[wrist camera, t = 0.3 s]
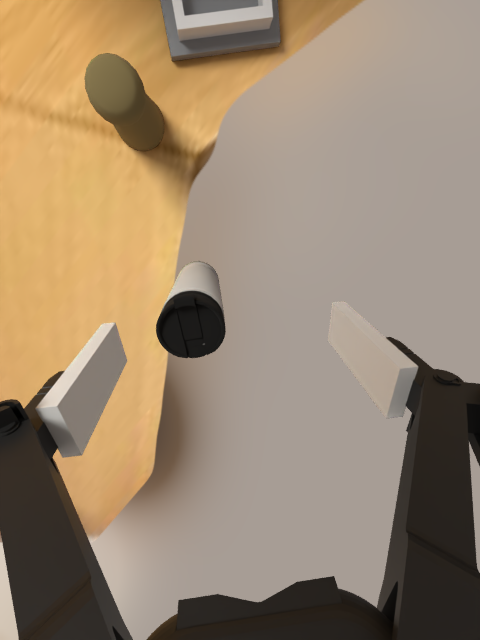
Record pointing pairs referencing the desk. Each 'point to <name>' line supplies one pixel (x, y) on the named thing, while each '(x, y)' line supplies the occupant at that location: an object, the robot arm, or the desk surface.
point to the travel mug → (193, 313)
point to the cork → (124, 101)
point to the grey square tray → (219, 26)
